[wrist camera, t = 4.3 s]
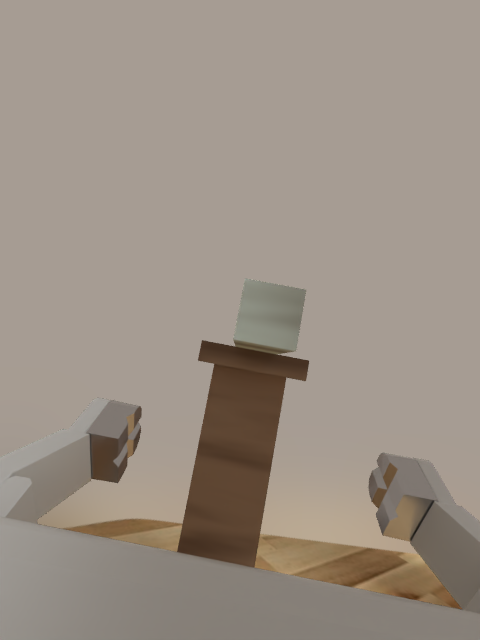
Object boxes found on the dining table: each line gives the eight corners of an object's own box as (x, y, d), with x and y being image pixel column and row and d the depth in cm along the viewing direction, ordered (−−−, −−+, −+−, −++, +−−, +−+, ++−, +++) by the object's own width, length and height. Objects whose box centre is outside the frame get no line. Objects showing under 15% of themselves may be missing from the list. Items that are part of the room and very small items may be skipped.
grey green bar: (236, 350, 35) (241, 324, 35) (265, 356, 35) (270, 329, 35) (231, 338, 15) (243, 278, 15) (298, 351, 15) (308, 290, 15)
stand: (251, 769, 20) (316, 361, 23) (112, 739, 20) (195, 339, 24) (247, 617, 32) (290, 361, 35) (159, 599, 32) (210, 346, 35)
